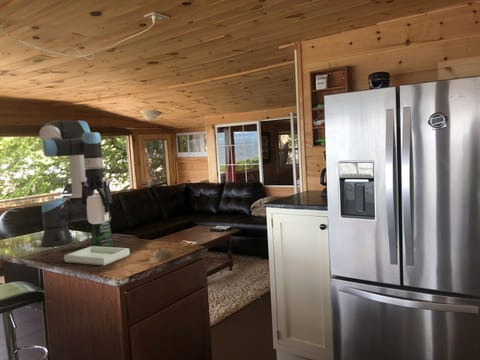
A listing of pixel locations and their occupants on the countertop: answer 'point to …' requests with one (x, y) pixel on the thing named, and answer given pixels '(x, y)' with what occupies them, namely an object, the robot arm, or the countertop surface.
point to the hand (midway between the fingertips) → (98, 219)
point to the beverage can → (95, 209)
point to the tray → (97, 255)
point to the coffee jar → (102, 234)
